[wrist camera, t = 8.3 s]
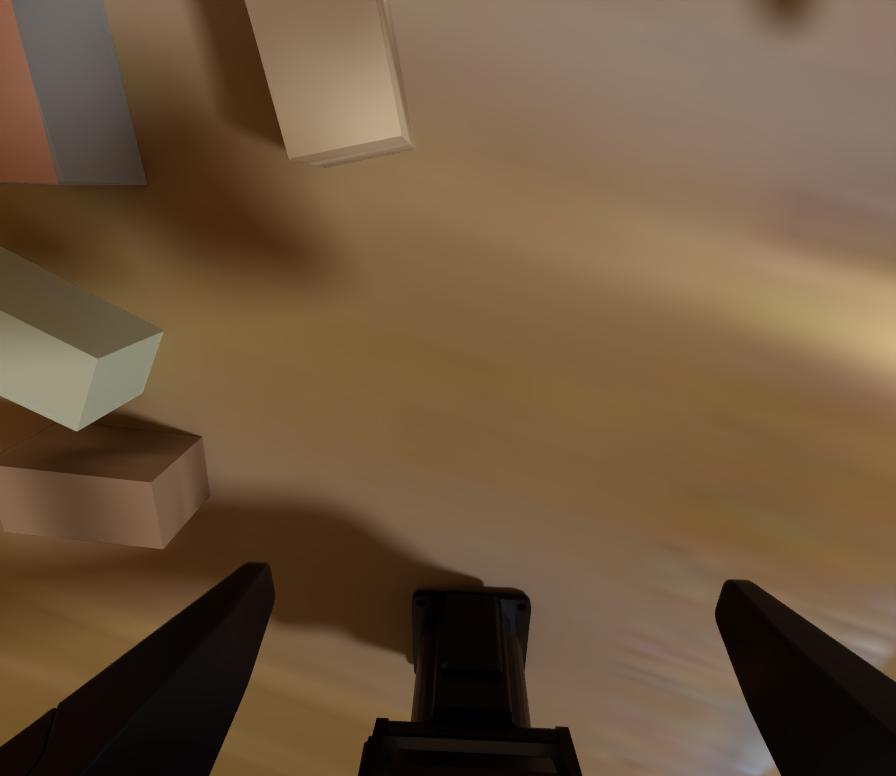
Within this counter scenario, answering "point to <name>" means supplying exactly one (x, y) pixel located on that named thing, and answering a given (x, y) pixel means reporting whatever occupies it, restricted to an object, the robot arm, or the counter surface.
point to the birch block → (333, 78)
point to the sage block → (67, 346)
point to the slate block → (79, 92)
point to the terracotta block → (20, 112)
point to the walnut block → (103, 484)
